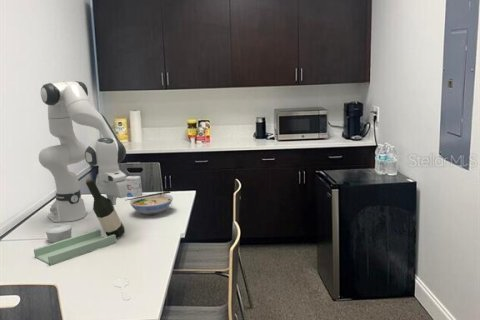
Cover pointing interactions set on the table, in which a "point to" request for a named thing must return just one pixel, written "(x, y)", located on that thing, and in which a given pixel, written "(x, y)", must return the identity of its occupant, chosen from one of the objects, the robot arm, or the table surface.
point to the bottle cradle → (73, 247)
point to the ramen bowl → (151, 203)
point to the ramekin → (58, 233)
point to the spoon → (122, 287)
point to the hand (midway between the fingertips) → (112, 204)
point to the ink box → (133, 186)
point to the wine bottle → (105, 212)
